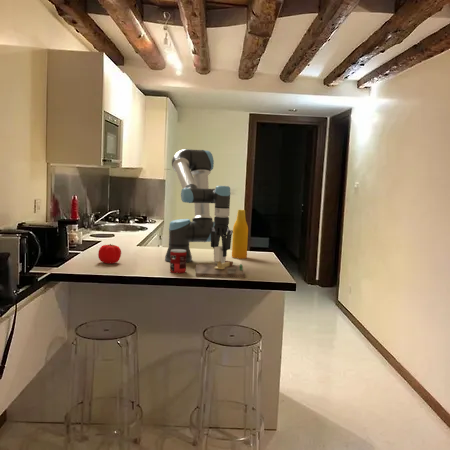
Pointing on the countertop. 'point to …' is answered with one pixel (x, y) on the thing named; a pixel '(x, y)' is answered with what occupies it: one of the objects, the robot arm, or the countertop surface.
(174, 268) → the canned food
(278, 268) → the countertop surface
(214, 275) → the gauge plate
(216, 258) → the tuning peg
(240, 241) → the beer bottle
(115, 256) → the tomato
